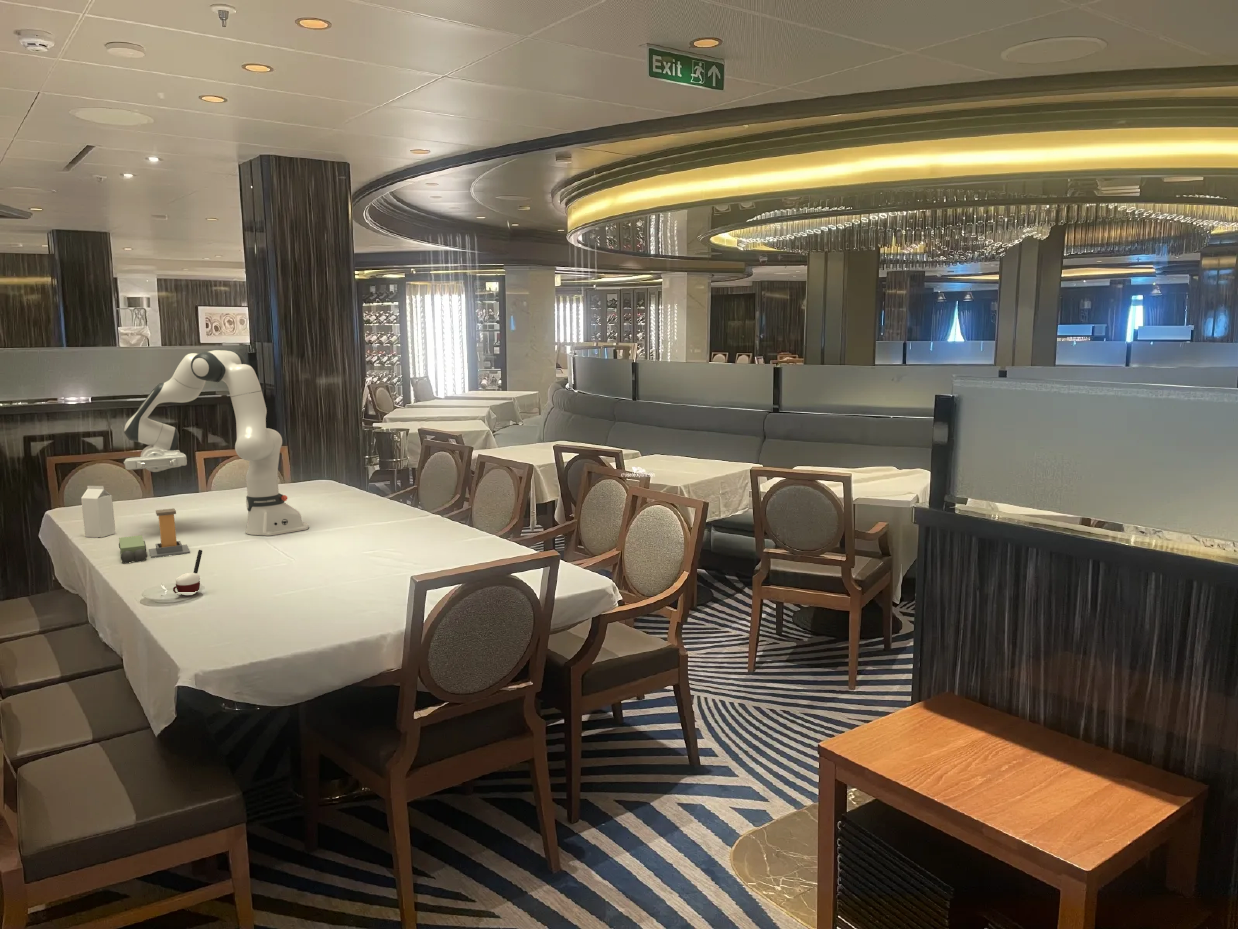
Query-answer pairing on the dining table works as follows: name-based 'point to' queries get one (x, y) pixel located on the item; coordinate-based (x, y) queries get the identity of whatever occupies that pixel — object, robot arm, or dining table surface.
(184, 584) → the cocoa
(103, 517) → the milk carton
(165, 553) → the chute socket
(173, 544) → the orange tall block
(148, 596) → the dining table surface
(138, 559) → the green dark block
